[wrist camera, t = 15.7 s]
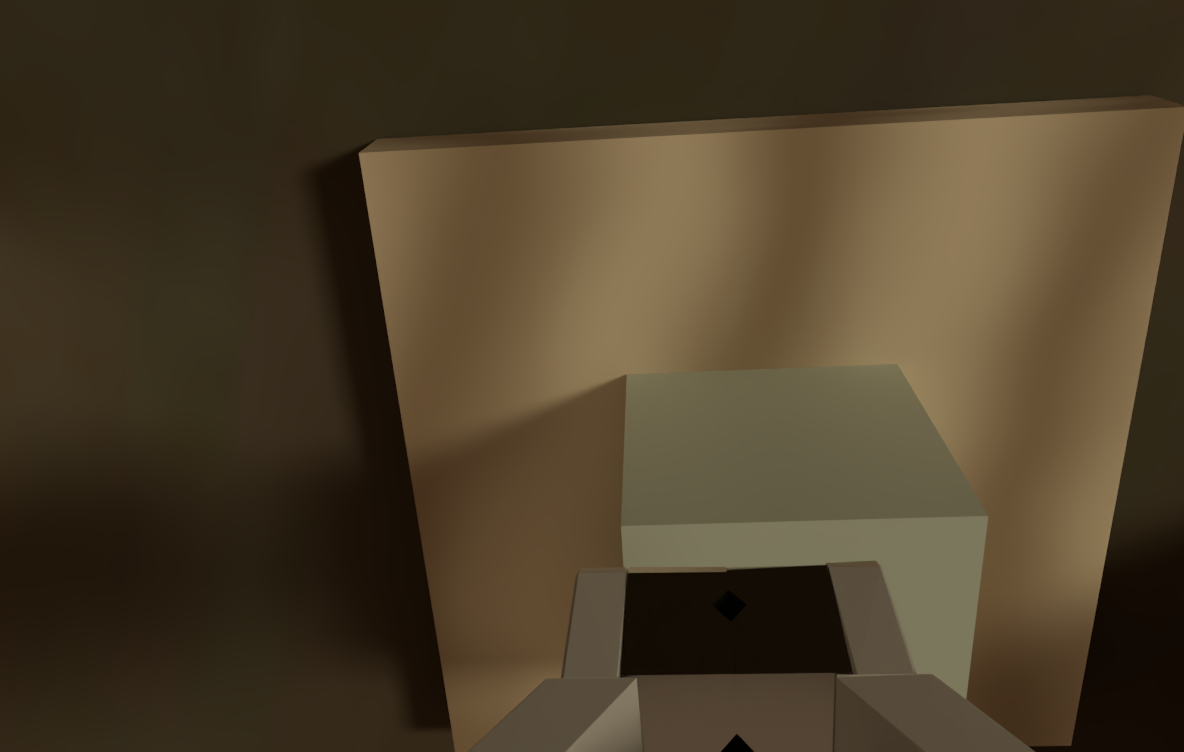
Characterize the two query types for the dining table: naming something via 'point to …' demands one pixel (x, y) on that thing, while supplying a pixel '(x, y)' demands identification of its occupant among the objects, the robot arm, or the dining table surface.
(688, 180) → the post board
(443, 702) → the dining table surface
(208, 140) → the dining table surface
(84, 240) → the dining table surface
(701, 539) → the sage green cube
